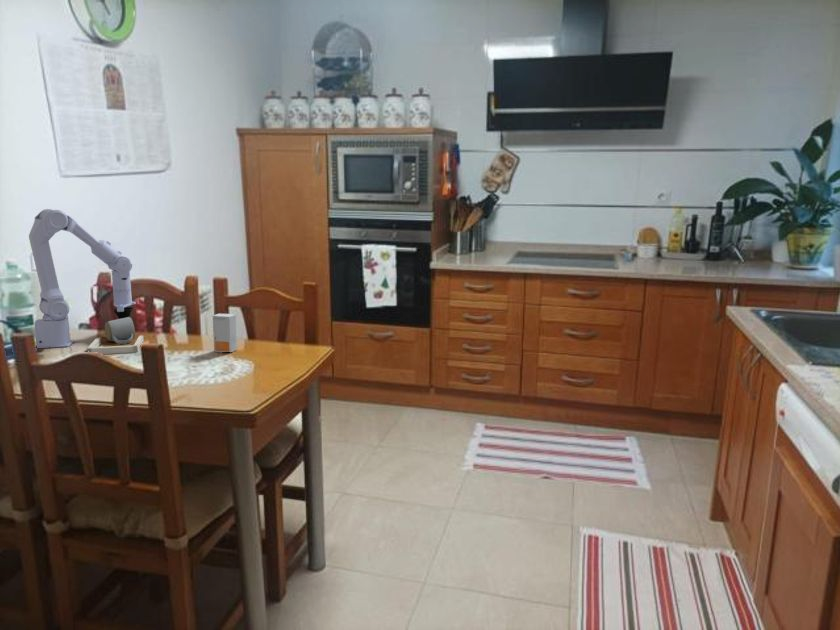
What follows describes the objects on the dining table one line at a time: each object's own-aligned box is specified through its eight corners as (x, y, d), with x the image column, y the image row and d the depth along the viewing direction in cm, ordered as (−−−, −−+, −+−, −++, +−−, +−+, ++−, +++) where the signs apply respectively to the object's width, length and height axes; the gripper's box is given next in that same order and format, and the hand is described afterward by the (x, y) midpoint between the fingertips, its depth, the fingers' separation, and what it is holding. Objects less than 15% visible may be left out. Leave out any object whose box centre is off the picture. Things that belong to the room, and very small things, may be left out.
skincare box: (213, 352, 201) (211, 315, 198) (220, 349, 205) (219, 313, 202) (230, 353, 199) (229, 316, 197) (237, 350, 203) (236, 314, 201)
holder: (87, 354, 196) (86, 348, 195) (96, 343, 210) (96, 337, 210) (137, 352, 200) (137, 345, 199) (143, 341, 214) (143, 335, 214)
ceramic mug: (104, 340, 215) (102, 318, 214) (129, 336, 220) (128, 315, 219) (112, 346, 207) (111, 323, 206) (139, 343, 212) (137, 320, 211)
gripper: (131, 293, 214) (134, 331, 217) (137, 286, 228) (140, 323, 230) (108, 293, 212) (112, 333, 215) (116, 287, 226) (119, 324, 228)
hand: (125, 328), depth 223 cm, fingers closed
